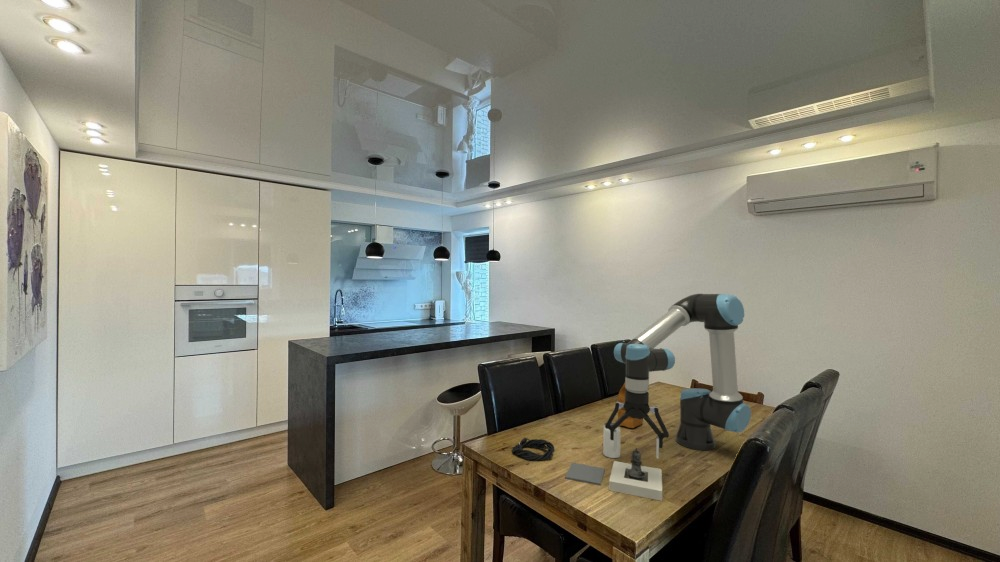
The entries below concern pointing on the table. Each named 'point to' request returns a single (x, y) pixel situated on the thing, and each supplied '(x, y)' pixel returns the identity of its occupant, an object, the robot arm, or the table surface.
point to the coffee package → (629, 421)
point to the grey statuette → (636, 467)
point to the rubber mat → (585, 473)
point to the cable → (537, 445)
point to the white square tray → (636, 481)
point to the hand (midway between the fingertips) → (635, 453)
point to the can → (611, 443)
